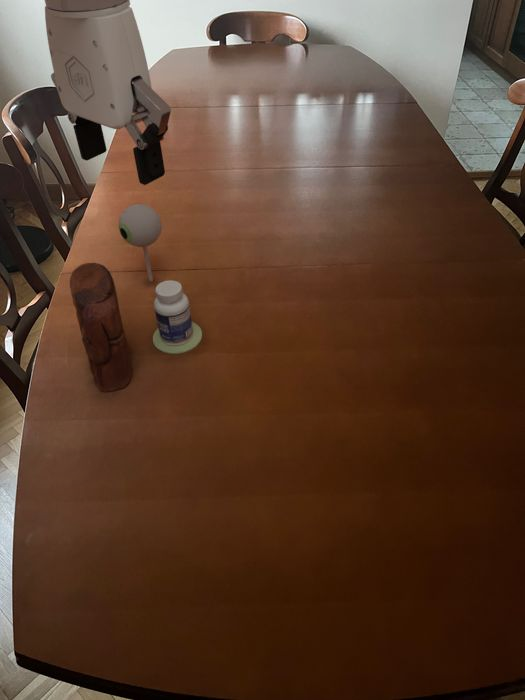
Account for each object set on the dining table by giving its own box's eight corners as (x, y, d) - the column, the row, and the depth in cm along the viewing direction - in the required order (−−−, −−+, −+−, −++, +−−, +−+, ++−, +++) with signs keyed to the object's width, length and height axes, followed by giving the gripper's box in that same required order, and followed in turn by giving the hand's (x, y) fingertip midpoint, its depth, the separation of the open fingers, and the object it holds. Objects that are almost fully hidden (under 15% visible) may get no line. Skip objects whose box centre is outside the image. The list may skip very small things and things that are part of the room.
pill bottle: (155, 331, 97) (145, 283, 90) (186, 321, 98) (178, 273, 92) (167, 351, 93) (157, 303, 86) (198, 340, 95) (191, 291, 88)
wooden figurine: (90, 346, 95) (60, 252, 83) (129, 338, 96) (106, 244, 84) (95, 398, 87) (62, 302, 74) (138, 389, 88) (113, 293, 75)
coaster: (177, 361, 92) (176, 359, 92) (142, 340, 96) (142, 338, 95) (212, 334, 96) (212, 332, 96) (177, 314, 100) (177, 313, 100)
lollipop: (123, 281, 107) (105, 208, 97) (153, 264, 111) (139, 191, 101) (148, 297, 104) (132, 222, 94) (178, 278, 108) (167, 205, 97)
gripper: (-4, -13, 56) (47, 159, 67) (115, 13, 47) (150, 204, 59) (61, -29, 60) (99, 136, 71) (182, -7, 51) (202, 175, 63)
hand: (122, 167), depth 65 cm, fingers open, 9 cm apart
